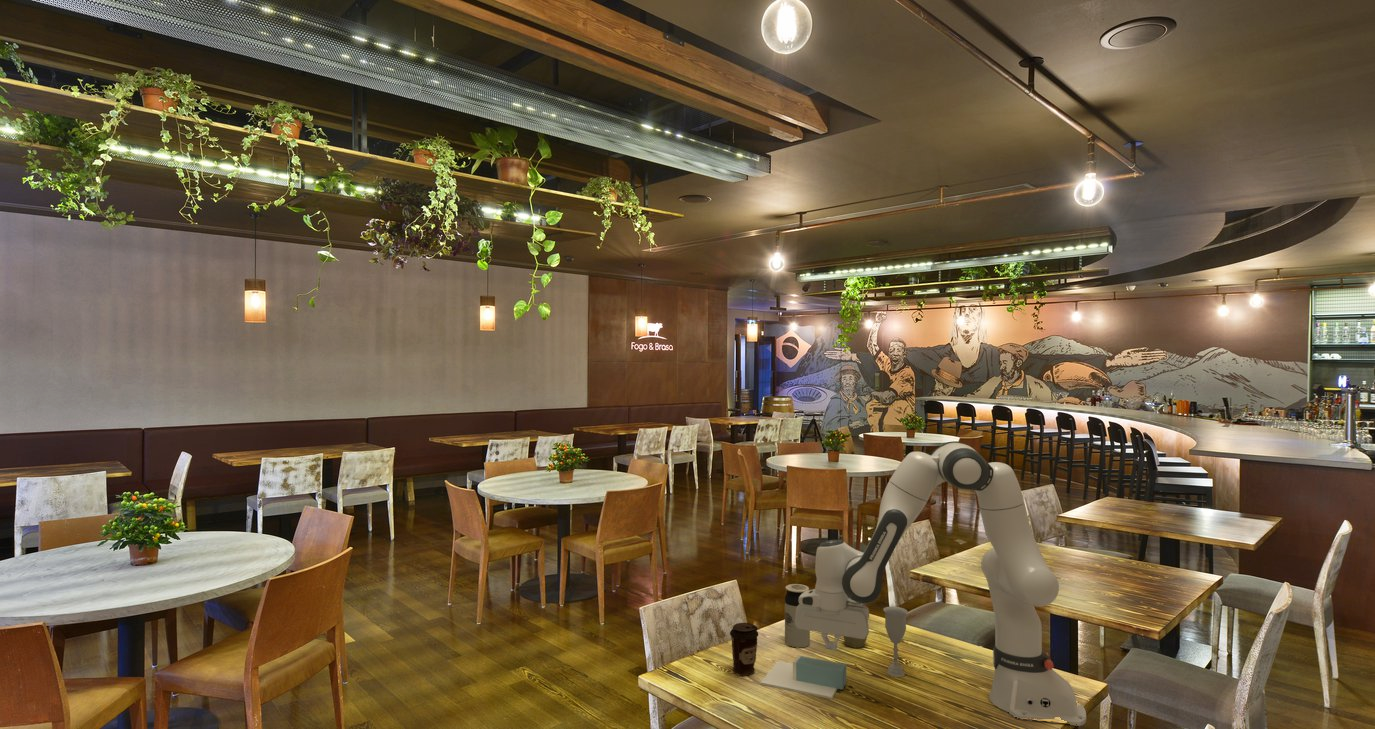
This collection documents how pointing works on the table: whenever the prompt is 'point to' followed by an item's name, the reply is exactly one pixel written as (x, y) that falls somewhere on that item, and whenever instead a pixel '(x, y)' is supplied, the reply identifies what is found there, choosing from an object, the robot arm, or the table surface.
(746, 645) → the coffee cup
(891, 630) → the chalice
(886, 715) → the table surface
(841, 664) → the long block
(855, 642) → the squeeze bottle
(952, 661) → the table surface
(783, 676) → the mat
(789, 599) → the travel mug
